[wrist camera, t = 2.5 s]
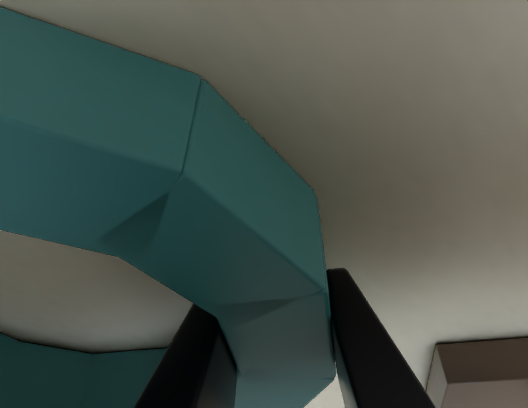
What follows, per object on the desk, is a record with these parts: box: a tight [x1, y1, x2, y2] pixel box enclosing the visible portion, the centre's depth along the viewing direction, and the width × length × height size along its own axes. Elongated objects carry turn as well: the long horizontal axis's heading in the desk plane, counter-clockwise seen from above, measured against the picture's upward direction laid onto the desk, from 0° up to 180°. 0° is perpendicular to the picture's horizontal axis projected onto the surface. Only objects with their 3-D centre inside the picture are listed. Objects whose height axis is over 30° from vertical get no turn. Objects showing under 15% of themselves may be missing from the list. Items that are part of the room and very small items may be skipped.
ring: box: [0, 7, 336, 408], centre depth 10 cm, size 12×12×2 cm
